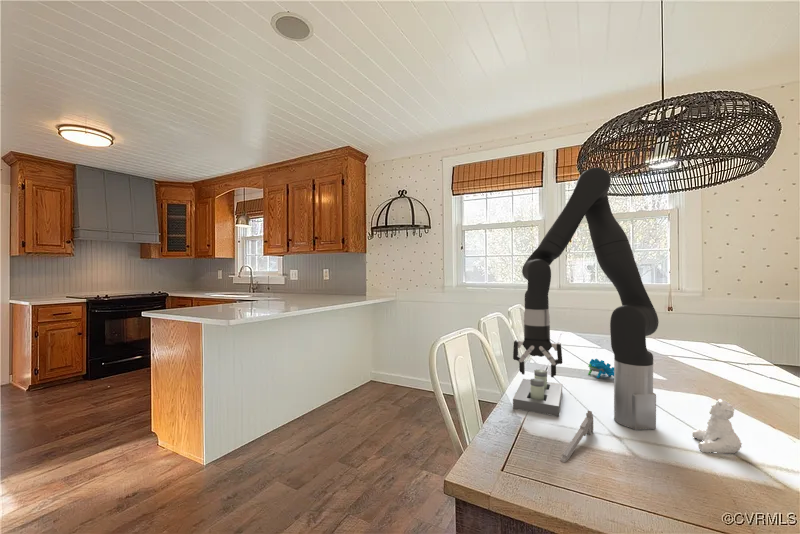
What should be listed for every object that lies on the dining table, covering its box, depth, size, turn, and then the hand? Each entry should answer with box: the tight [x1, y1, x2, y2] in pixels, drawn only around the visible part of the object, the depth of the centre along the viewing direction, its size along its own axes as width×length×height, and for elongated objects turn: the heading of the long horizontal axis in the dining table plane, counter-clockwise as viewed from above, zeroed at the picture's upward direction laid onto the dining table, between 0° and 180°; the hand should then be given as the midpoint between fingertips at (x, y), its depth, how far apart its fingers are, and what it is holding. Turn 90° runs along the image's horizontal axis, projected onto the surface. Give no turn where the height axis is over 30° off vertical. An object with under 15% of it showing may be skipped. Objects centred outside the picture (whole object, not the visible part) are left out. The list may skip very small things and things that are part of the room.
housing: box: [512, 369, 563, 417], centre depth 118 cm, size 22×13×8 cm, turn 153°
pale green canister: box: [529, 378, 544, 401], centre depth 113 cm, size 4×4×8 cm
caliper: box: [559, 410, 594, 463], centre depth 89 cm, size 20×1×6 cm, turn 136°
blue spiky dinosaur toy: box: [587, 358, 614, 379], centre depth 142 cm, size 11×6×10 cm
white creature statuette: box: [692, 398, 743, 454], centre depth 87 cm, size 10×9×12 cm
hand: (537, 375), depth 112 cm, fingers open, 8 cm apart
